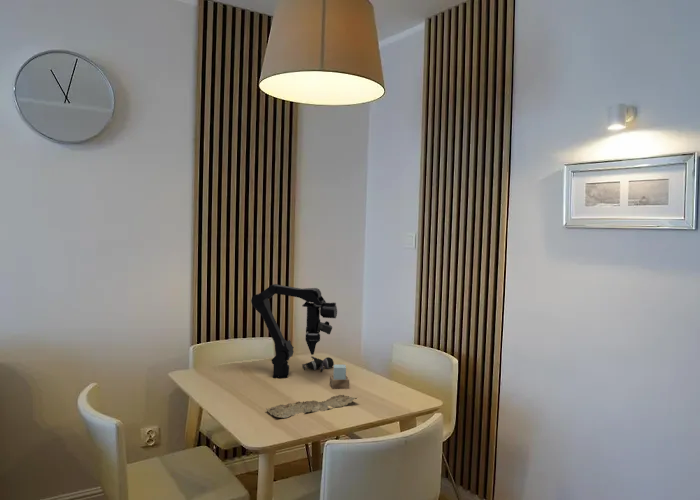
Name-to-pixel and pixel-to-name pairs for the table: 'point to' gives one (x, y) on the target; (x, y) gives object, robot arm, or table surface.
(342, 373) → the cube
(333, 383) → the base block
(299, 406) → the rock fragment
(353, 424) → the table surface
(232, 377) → the table surface
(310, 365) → the toy
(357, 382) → the table surface
